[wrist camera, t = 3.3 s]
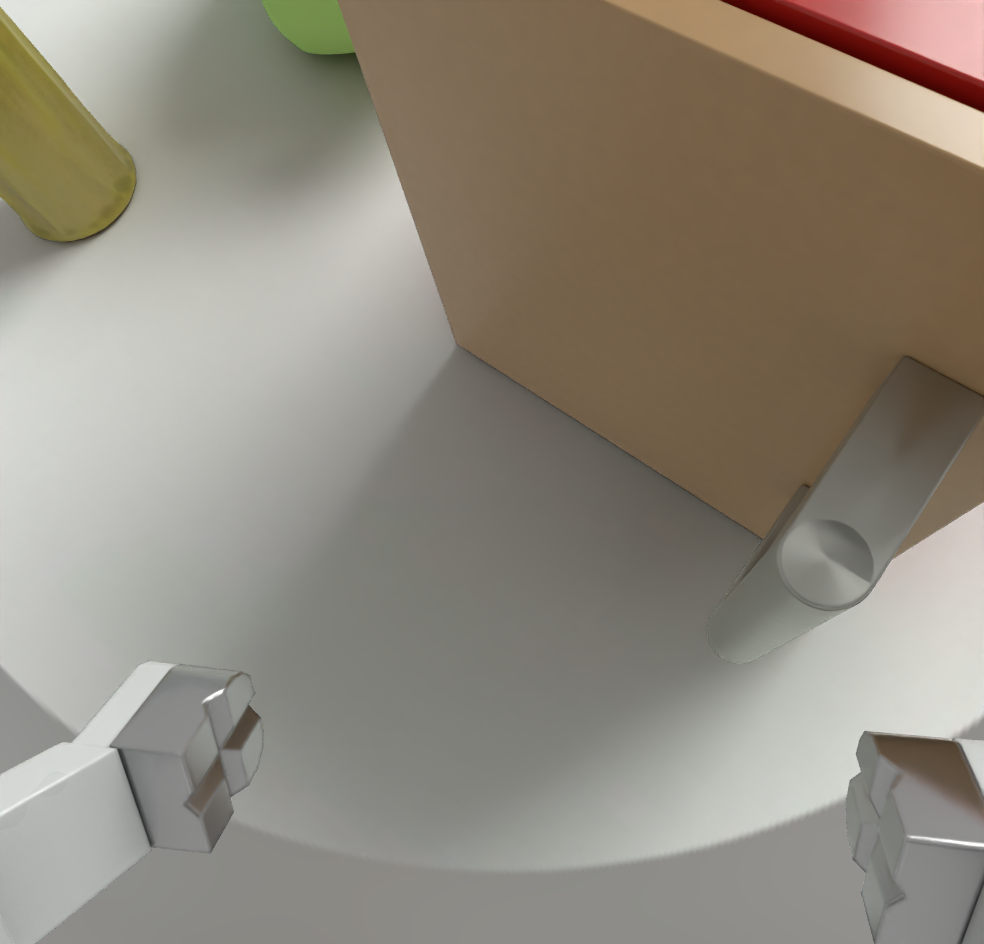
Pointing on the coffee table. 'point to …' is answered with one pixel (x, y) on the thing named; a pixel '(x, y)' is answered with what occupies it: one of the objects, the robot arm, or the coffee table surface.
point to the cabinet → (895, 37)
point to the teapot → (311, 25)
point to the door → (708, 264)
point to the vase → (54, 149)
